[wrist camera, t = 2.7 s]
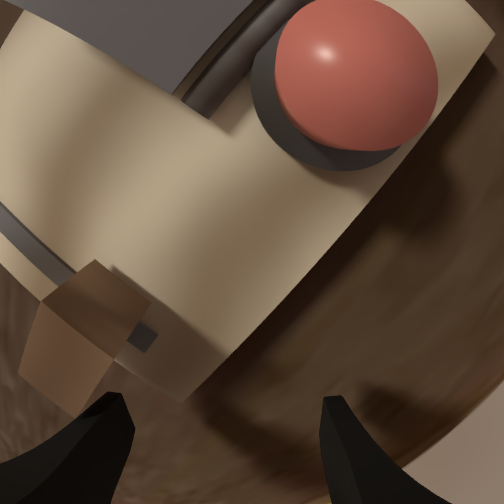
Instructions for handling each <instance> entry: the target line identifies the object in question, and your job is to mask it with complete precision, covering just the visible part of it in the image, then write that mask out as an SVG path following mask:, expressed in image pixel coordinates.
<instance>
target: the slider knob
mask: <svg viewBox="0 0 504 504" xmlns="http://www.w3.org/2000/svg"><path fill="white" fill-rule="evenodd" d="M150 304H151V302H150V301H149V300H147V299H146V298H145V297H143V296H142V295H141V294H139V293H138V292H137V291H135V290H134V289H133V288H131V287H130V286H129V285H127V284H126V283H125V282H123V281H122V280H121V279H120V278H118V277H117V276H116V275H114V274H113V273H112V272H111V271H109V270H108V269H107V268H106V267H104V266H103V265H102V264H101V263H99V262H98V261H97V260H96V259H94V260H93V261H91V262H90V263H89V264H87V265H86V266H85V267H83V268H82V269H81V270H80V271H78V272H77V273H76V274H74V275H73V276H72V277H70V278H69V279H68V280H67V281H65V282H64V283H63V284H61V285H60V286H59V287H58V288H56V289H55V290H54V291H53V292H51V293H50V294H49V295H48V296H46V297H45V298H44V299H43V300H41V302H40V305H39V308H38V310H37V313H36V316H35V319H34V322H33V325H32V328H31V331H30V334H29V337H28V340H27V343H26V346H25V350H24V353H23V356H22V360H21V363H20V367H19V371H18V374H19V375H20V376H21V377H22V378H24V379H25V380H26V381H27V382H28V383H29V384H31V385H32V386H33V387H34V388H35V389H37V390H38V391H39V392H40V393H42V394H43V395H44V396H45V397H47V398H48V399H49V400H51V401H52V402H53V403H54V404H56V405H57V406H58V407H60V408H61V409H62V410H64V411H65V412H67V413H68V414H69V415H71V416H72V417H74V418H75V419H76V417H77V416H78V414H79V413H80V411H81V410H82V408H83V406H84V405H85V403H86V402H87V400H88V399H89V397H90V395H91V394H92V392H93V391H94V389H95V388H96V386H97V385H98V383H99V382H100V380H101V379H102V377H103V376H104V374H105V373H106V371H107V369H108V368H109V366H110V365H111V363H112V362H113V361H114V359H115V357H116V356H117V354H118V353H119V351H120V350H121V348H122V347H123V345H124V343H125V342H126V340H127V339H128V337H129V336H130V334H131V333H132V331H133V330H134V328H135V327H136V325H137V324H138V322H139V321H140V319H141V318H142V316H143V315H144V313H145V312H146V310H147V309H148V307H149V306H150Z"/></svg>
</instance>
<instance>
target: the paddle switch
mask: <svg viewBox="0 0 504 504" xmlns="http://www.w3.org/2000/svg"><path fill="white" fill-rule="evenodd" d="M5 1H8V2H10V3H12V4H14V5H16V6H18V7H20V8H22V9H24V10H26V11H28V12H30V13H32V14H34V15H36V16H38V17H40V18H42V19H44V20H46V21H48V22H50V23H52V24H54V25H56V26H58V27H59V28H61V29H63V30H65V31H67V32H69V33H71V34H72V35H74V36H76V37H78V38H80V39H81V40H83V41H85V42H87V43H88V44H90V45H92V46H94V47H95V48H97V49H99V50H100V51H102V52H104V53H106V54H107V55H109V56H111V57H112V58H114V59H116V60H117V61H119V62H120V63H122V64H124V65H125V66H127V67H129V68H130V69H132V70H133V71H135V72H137V73H138V74H140V75H141V76H143V77H145V78H146V79H148V80H149V81H151V82H152V83H154V84H155V85H157V86H158V87H160V88H162V89H163V90H165V91H166V92H168V93H169V94H171V95H173V94H174V93H175V91H176V90H177V89H178V88H179V86H180V85H181V84H182V82H183V81H184V80H185V79H186V77H187V76H188V75H189V74H190V72H191V71H192V70H193V69H194V67H195V66H196V65H197V64H198V63H199V61H200V60H201V59H202V58H203V57H204V55H205V54H206V53H207V52H208V51H209V50H210V48H211V47H212V46H213V45H214V44H215V43H216V42H217V41H218V39H219V38H220V37H221V36H222V35H223V34H224V33H225V32H226V31H227V29H228V28H229V27H230V26H231V25H232V24H233V23H234V22H235V21H236V20H237V19H238V18H239V17H240V16H241V15H242V14H243V13H244V12H245V11H246V10H247V9H248V7H249V6H250V5H251V4H252V3H254V2H255V1H256V0H5Z"/></svg>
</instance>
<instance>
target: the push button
mask: <svg viewBox="0 0 504 504" xmlns="http://www.w3.org/2000/svg"><path fill="white" fill-rule="evenodd" d="M274 87H275V92H276V96H277V99H278V102H279V104H280V106H281V108H282V110H283V112H284V114H285V115H286V117H287V118H288V120H289V121H290V122H291V123H292V124H293V125H294V126H295V127H296V128H297V129H298V130H299V131H300V132H301V133H302V134H304V135H305V136H307V137H308V138H310V139H311V140H313V141H315V142H317V143H319V144H322V145H324V146H327V147H331V148H335V149H342V150H360V151H379V150H387V149H391V148H395V147H397V146H399V145H402V144H404V143H406V142H407V141H409V140H411V139H412V138H413V137H415V136H416V135H417V134H418V133H419V132H420V131H421V130H422V129H423V128H424V127H425V126H426V124H427V123H428V121H429V119H430V118H431V116H432V113H433V111H434V109H435V105H436V102H437V96H438V74H437V69H436V64H435V61H434V58H433V55H432V53H431V51H430V49H429V47H428V45H427V43H426V41H425V40H424V38H423V37H422V35H421V34H420V33H419V32H418V30H417V29H416V28H415V27H414V26H413V25H412V24H411V23H410V22H409V21H408V20H407V19H406V18H405V17H404V16H402V15H401V14H400V13H398V12H397V11H395V10H394V9H392V8H391V7H389V6H387V5H385V4H383V3H381V2H378V1H375V0H316V1H314V2H311V3H309V4H308V5H306V6H304V7H303V8H301V9H300V10H299V11H298V12H297V13H296V14H294V16H293V17H292V18H291V19H290V20H289V21H288V23H287V25H286V26H285V28H284V30H283V32H282V34H281V37H280V39H279V43H278V47H277V53H276V61H275V69H274Z"/></svg>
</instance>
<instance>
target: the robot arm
mask: <svg viewBox="0 0 504 504" xmlns="http://www.w3.org/2000/svg"><path fill="white" fill-rule="evenodd" d="M134 433H135V426H134V424H133V421H132V419H131V417H130V414H129V412H128V409H127V406H126V404H125V401H124V399H123V396H122V393H115V392H106V393H105V394H104V395H103V396H102V397H100V398H99V399H98V400H97V401H96V402H95V403H93V404H92V405H91V406H90V407H89V408H88V409H86V410H85V411H84V412H83V413H82V414H81V415H79V416H78V417H77V418H76V419H75V420H73V421H72V422H71V423H70V424H68V425H67V426H66V427H65V428H63V429H62V430H61V431H59V432H58V433H57V434H55V435H54V436H53V437H51V438H50V439H48V440H47V441H45V442H44V443H42V444H40V445H39V446H37V447H35V448H34V449H32V450H30V451H28V452H26V453H24V454H22V455H20V456H18V457H16V458H13V459H11V460H9V461H6V462H3V463H1V464H0V504H111V500H112V497H113V494H114V491H115V489H116V486H117V483H118V481H119V478H120V476H121V473H122V471H123V468H124V466H125V463H126V460H127V458H128V455H129V453H130V450H131V446H132V442H133V437H134ZM319 437H320V448H321V457H322V462H323V466H324V471H325V475H326V480H327V484H328V489H329V493H330V498H331V502H332V504H451V503H449V502H447V501H446V500H444V499H442V498H441V497H439V496H437V495H435V494H434V493H433V492H431V491H430V490H428V489H427V488H425V487H424V486H422V485H421V484H419V483H418V482H417V481H415V480H414V479H413V478H412V477H410V476H409V475H408V474H407V473H406V472H404V471H403V470H402V469H401V468H400V467H399V466H398V465H397V464H396V463H394V462H393V461H392V460H391V459H390V458H389V457H388V456H387V454H386V453H385V452H384V451H383V450H382V449H381V448H380V447H379V446H378V445H377V443H376V442H375V441H374V440H373V439H372V437H371V436H370V435H369V434H368V432H367V431H366V430H365V429H364V427H363V426H362V425H361V423H360V422H359V421H358V419H357V418H356V416H355V415H354V413H353V412H352V411H351V409H350V407H349V406H348V404H347V403H346V401H345V399H344V398H343V397H342V396H341V395H339V396H328V397H324V398H323V407H322V415H321V423H320V430H319Z"/></svg>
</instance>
